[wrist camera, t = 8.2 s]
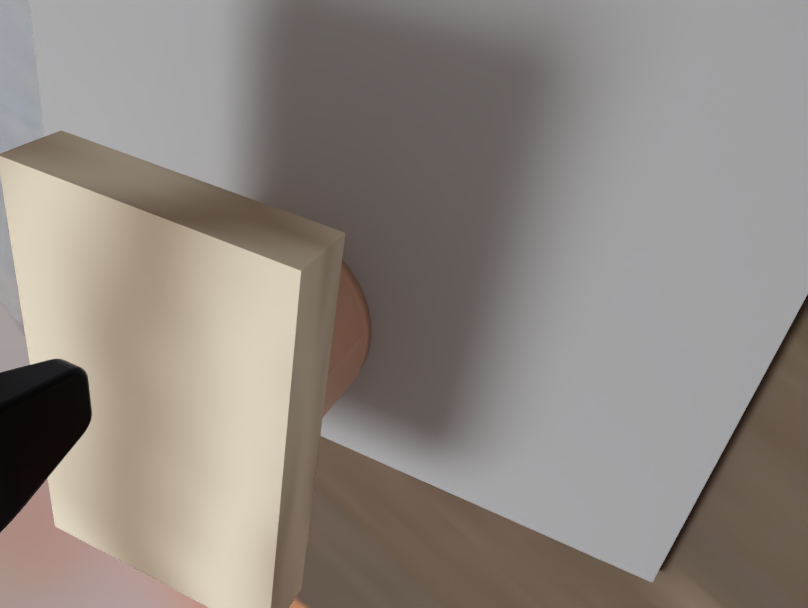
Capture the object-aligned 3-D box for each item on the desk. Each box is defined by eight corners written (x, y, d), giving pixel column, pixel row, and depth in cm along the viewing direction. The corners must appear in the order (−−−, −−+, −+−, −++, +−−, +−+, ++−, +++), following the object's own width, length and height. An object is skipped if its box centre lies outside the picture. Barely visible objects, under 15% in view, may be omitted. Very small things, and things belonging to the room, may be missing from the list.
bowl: (385, 257, 21) (302, 339, 18) (358, 417, 25) (285, 512, 21) (203, 190, 23) (94, 254, 19) (201, 349, 26) (108, 427, 23)
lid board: (345, 232, 16) (301, 271, 15) (301, 588, 23) (268, 638, 21) (61, 130, 18) (-3, 154, 16) (98, 486, 25) (55, 526, 23)
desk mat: (1220, -485, 10) (1233, -496, 10) (654, 572, 23) (652, 582, 23) (-22, -574, 16) (-39, -582, 16) (73, 317, 29) (65, 322, 29)
